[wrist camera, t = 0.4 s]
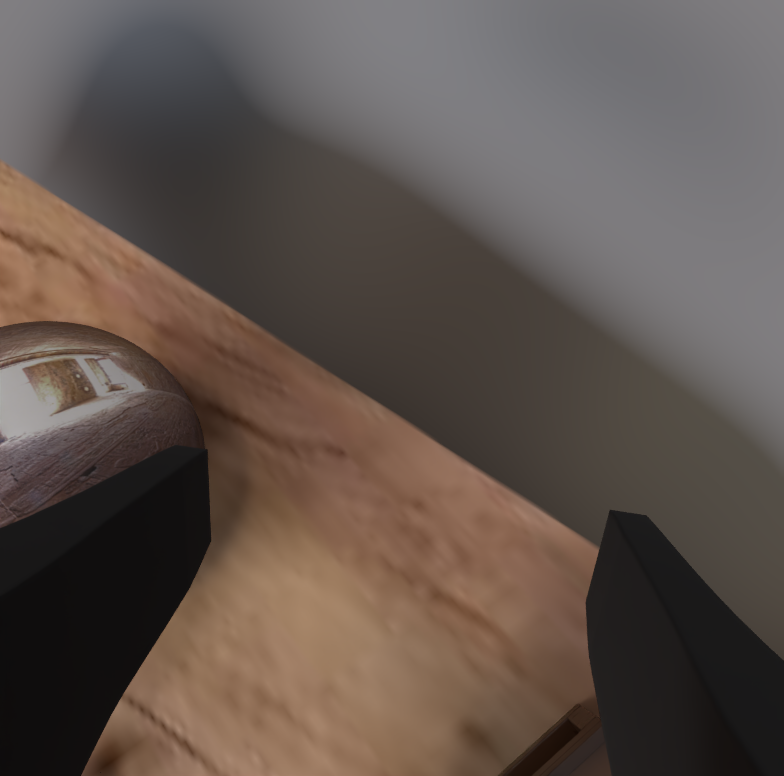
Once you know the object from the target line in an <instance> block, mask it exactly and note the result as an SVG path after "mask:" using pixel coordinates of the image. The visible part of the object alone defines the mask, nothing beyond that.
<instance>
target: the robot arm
mask: <svg viewBox="0 0 784 776" xmlns="http://www.w3.org/2000/svg"><path fill="white" fill-rule="evenodd" d="M210 542H211V523H210V498H209V474H208V450H207V449H201V448H194V447H187V446H181V445H174V446H172V447H169V448H167V449H165V450H163V451H160V452H158V453H156V454H154V455H152V456H150V457H148V458H146V459H144V460H142V461H141V462H139V463H137V464H135V465H133V466H131V467H129V468H127V469H125V470H123V471H121V472H119V473H117V474H115V475H113V476H111V477H110V478H108V479H106V480H104V481H102V482H100V483H98V484H96V485H94V486H92V487H90V488H88V489H86V490H84V491H82V492H80V493H78V494H76V495H74V496H71V497H69V498H67V499H65V500H63V501H61V502H58V503H56V504H54V505H52V506H50V507H48V508H45V509H43V510H41V511H39V512H37V513H35V514H32V515H30V516H28V517H26V518H23V519H21V520H19V521H16V522H14V523H11V524H9V525H7V526H4V527H2V528H0V776H81V774H82V772H83V770H84V768H85V766H86V764H87V762H88V760H89V758H90V756H91V754H92V752H93V750H94V748H95V746H96V744H97V742H98V740H99V738H100V736H101V734H102V732H103V730H104V728H105V726H106V724H107V722H108V720H109V718H110V716H111V714H112V712H113V711H114V709H115V707H116V706H117V704H118V702H119V700H120V699H121V697H122V695H123V693H124V692H125V690H126V688H127V687H128V685H129V684H130V682H131V681H132V679H133V677H134V676H135V674H136V673H137V671H138V670H139V668H140V666H141V665H142V663H143V662H144V660H145V658H146V657H147V655H148V654H149V652H150V651H151V649H152V647H153V646H154V644H155V643H156V641H157V640H158V638H159V636H160V635H161V633H162V632H163V630H164V629H165V627H166V625H167V624H168V622H169V621H170V619H171V617H172V616H173V614H174V613H175V611H176V609H177V608H178V606H179V605H180V603H181V601H182V600H183V598H184V597H185V595H186V593H187V592H188V590H189V588H190V586H191V584H192V582H193V580H194V578H195V576H196V574H197V572H198V569H199V567H200V565H201V563H202V561H203V558H204V556H205V554H206V551H207V549H208V547H209V544H210ZM586 617H587V636H588V650H589V659H590V665H591V670H592V676H593V681H594V686H595V692H596V697H597V702H598V708H599V713H600V718H601V723H602V728H603V733H604V739H605V744H606V749H607V754H608V759H609V764H610V770H611V775H612V776H784V661H783V660H782V659H781V658H780V657H779V656H778V655H777V654H776V653H775V652H774V651H772V650H771V649H770V648H769V647H768V646H767V645H766V644H765V643H764V642H763V641H762V640H761V639H760V638H759V637H758V636H757V635H756V634H755V633H754V632H753V631H752V630H751V629H749V628H748V626H747V625H745V624H744V623H743V622H742V621H741V620H740V619H739V618H738V617H737V616H736V615H735V614H734V613H733V612H732V610H731V609H729V607H728V606H727V605H726V604H725V603H724V602H723V601H722V600H721V599H720V598H719V597H718V596H717V595H716V594H715V593H714V592H713V590H712V589H711V588H710V587H709V586H708V585H707V584H706V583H705V582H704V581H703V579H701V577H700V576H699V575H698V574H697V573H696V572H695V570H694V569H693V568H692V567H691V566H690V565H689V564H688V563H687V561H686V560H685V559H684V558H683V557H682V556H681V554H680V553H679V552H678V551H677V550H676V549H675V547H674V546H673V545H672V544H671V543H670V542H669V541H668V539H667V538H666V537H665V536H664V535H663V533H662V532H661V531H660V530H659V529H658V528H657V527H656V525H655V524H654V523H653V522H652V521H651V520H650V519H649V518H648V517H647V516H646V515H640V514H634V513H627V512H620V511H614V510H610V511H609V515H608V519H607V523H606V527H605V531H604V535H603V538H602V542H601V546H600V549H599V553H598V557H597V561H596V565H595V569H594V572H593V576H592V580H591V584H590V588H589V591H588V595H587V599H586Z"/></svg>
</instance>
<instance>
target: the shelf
mask: <svg viewBox="0 0 784 776" xmlns="http://www.w3.org/2000/svg"><path fill="white" fill-rule="evenodd" d="M498 776H612V775H611V770H610V764H609V759H608V754H607V749H606V744H605V739H604V733H603V728H602V723H601V719H600V718H598V717H596V716H595V715H593V714H592V713H591V712H589V711H588V710H586V709H585V708H583V707H582V706H580V705H579V704H577V705H576V706H575V707H574V708H573V709H571V710H570V711H569V712H568V713H567V714H566V715H565V716H564V717H563V718H561V719H560V720H559V721H558V722H557V723H556V724H555V725H554V726H553V727H551V728H550V729H549V730H548V731H547V732H546V733H545V734H544V735H543V736H542V737H540V738H539V739H538V740H537V741H536V742H535V743H534V744H533V745H532V746H530V747H529V748H528V749H527V750H526V751H525V752H524V753H523V754H522V755H520V756H519V757H518V758H517V759H516V760H515V761H514V762H513V763H512V764H511V765H509V766H508V767H507V768H506V769H505V770H504V771H503V772H502V773H501V774H499V775H498Z"/></svg>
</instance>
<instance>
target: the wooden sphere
mask: <svg viewBox="0 0 784 776" xmlns="http://www.w3.org/2000/svg"><path fill="white" fill-rule="evenodd" d="M174 445H181V446H187V447H194V448H201V449H205V444H204V438H203V434H202V430H201V426H200V423H199V420H198V417H197V415H196V412H195V410H194V408H193V406H192V404H191V402H190V400H189V398H188V396H187V395H186V393H185V391H184V390H183V388H182V387H181V386H180V384H179V383H178V382H177V380H176V379H175V378H174V377H173V375H172V374H171V373H170V372H169V371H168V370H167V369H166V368H165V367H164V366H163V365H162V364H161V363H160V362H159V361H157V360H156V359H155V358H154V357H153V356H151V355H150V354H149V353H147V352H146V351H144V350H143V349H141V348H140V347H138V346H137V345H135V344H133V343H132V342H130V341H128V340H126V339H124V338H122V337H119V336H117V335H115V334H112V333H110V332H107V331H104V330H101V329H98V328H94V327H90V326H86V325H81V324H75V323H68V322H53V321H42V322H27V323H19V324H13V325H8V326H4V327H0V528H2V527H4V526H7V525H9V524H11V523H14V522H16V521H19V520H21V519H23V518H26V517H28V516H30V515H32V514H35V513H37V512H39V511H41V510H43V509H45V508H48V507H50V506H52V505H54V504H56V503H58V502H61V501H63V500H65V499H67V498H69V497H71V496H74V495H76V494H78V493H80V492H82V491H84V490H86V489H88V488H90V487H92V486H94V485H96V484H98V483H100V482H102V481H104V480H106V479H108V478H110V477H111V476H113V475H115V474H117V473H119V472H121V471H123V470H125V469H127V468H129V467H131V466H133V465H135V464H137V463H139V462H141V461H142V460H144V459H146V458H148V457H150V456H152V455H154V454H156V453H158V452H160V451H163V450H165V449H167V448H169V447H172V446H174Z"/></svg>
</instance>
